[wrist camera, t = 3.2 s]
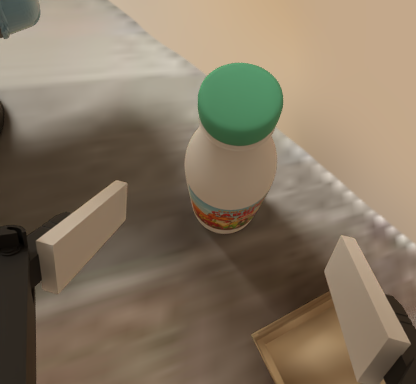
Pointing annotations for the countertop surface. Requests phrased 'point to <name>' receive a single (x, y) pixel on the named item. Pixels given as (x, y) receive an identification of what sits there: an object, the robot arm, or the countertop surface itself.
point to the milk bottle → (233, 146)
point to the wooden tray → (307, 346)
